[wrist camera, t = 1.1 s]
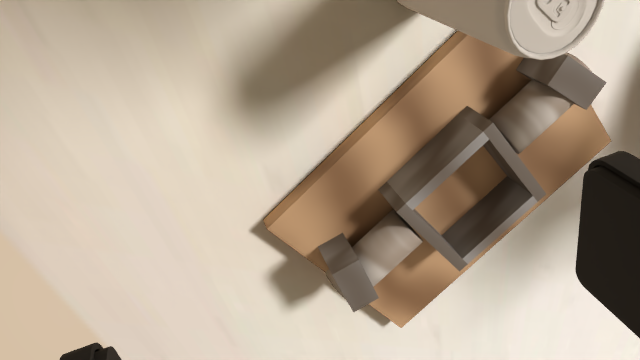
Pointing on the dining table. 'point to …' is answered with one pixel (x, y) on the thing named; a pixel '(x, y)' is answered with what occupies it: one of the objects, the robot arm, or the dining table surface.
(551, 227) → the dining table surface
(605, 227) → the robot arm
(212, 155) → the dining table surface
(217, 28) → the dining table surface
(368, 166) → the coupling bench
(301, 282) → the dining table surface
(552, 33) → the beverage can
